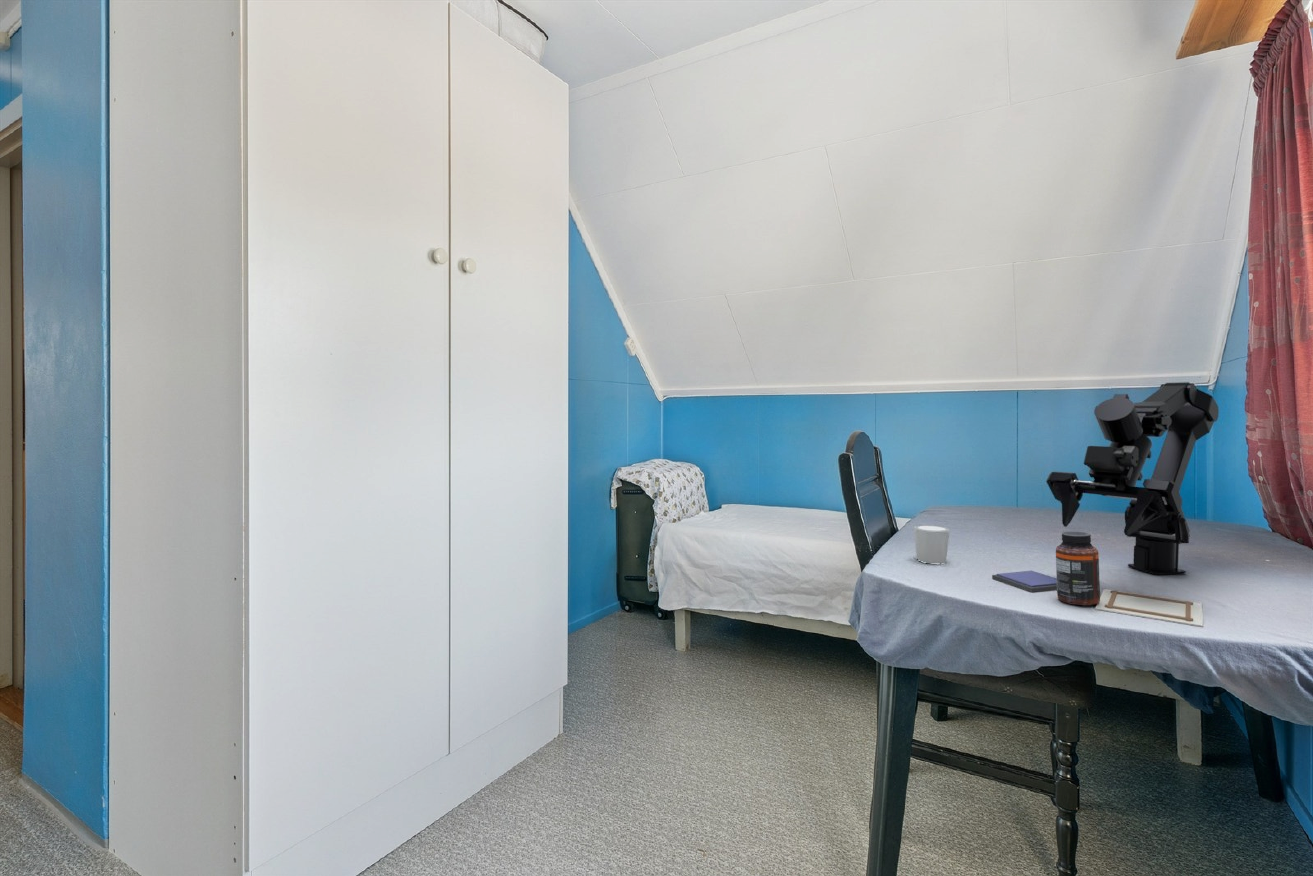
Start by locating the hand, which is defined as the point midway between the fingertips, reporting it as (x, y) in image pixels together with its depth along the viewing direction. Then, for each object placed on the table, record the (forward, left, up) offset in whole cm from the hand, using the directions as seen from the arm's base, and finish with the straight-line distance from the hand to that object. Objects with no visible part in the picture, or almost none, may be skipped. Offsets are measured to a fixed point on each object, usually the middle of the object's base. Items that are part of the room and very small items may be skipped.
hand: (1093, 529), depth 107 cm
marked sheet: (-4, +6, -11) cm, 14 cm away
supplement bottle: (+5, +2, -12) cm, 13 cm away
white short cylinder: (+14, -27, -12) cm, 32 cm away
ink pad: (+5, -9, -11) cm, 15 cm away
